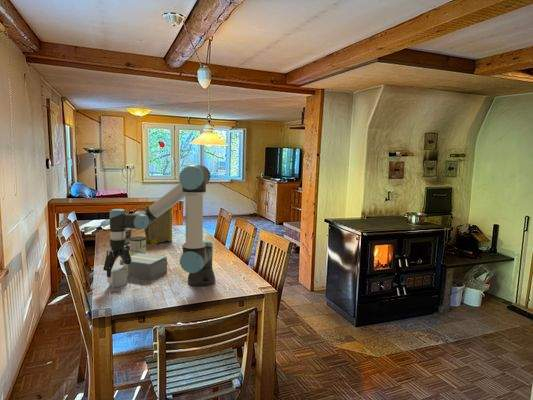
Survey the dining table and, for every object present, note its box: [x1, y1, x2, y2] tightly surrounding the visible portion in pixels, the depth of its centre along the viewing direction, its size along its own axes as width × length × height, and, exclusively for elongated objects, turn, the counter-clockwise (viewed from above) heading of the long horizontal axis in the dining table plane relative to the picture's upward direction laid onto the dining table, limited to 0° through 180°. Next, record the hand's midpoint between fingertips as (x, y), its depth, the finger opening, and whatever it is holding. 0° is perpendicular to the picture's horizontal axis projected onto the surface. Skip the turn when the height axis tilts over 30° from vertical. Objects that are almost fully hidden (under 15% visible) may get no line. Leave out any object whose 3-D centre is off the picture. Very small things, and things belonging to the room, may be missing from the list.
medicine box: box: [108, 266, 128, 288], centre depth 189 cm, size 8×4×9 cm, turn 141°
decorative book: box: [143, 204, 173, 246], centre depth 284 cm, size 20×11×30 cm, turn 136°
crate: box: [124, 258, 168, 281], centre depth 208 cm, size 18×16×8 cm
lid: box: [119, 253, 167, 266], centre depth 208 cm, size 20×16×3 cm
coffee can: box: [129, 235, 147, 256], centre depth 238 cm, size 10×10×14 cm
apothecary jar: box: [125, 228, 133, 250], centre depth 264 cm, size 12×12×18 cm
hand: (118, 279), depth 189 cm, fingers open, 11 cm apart
